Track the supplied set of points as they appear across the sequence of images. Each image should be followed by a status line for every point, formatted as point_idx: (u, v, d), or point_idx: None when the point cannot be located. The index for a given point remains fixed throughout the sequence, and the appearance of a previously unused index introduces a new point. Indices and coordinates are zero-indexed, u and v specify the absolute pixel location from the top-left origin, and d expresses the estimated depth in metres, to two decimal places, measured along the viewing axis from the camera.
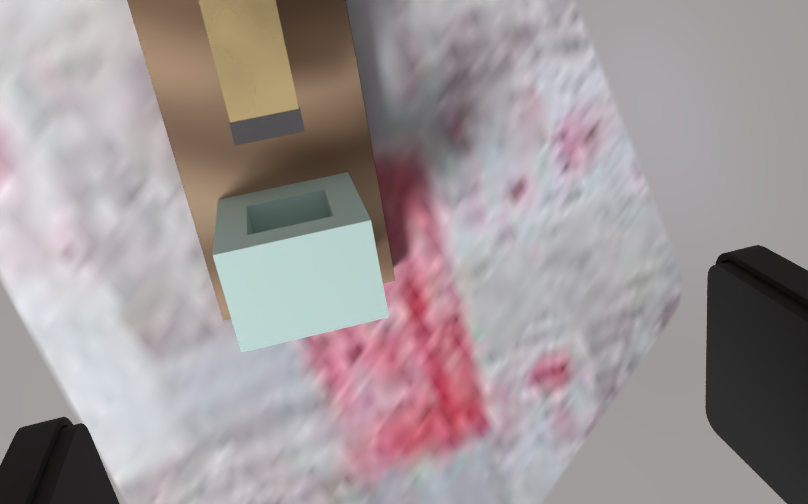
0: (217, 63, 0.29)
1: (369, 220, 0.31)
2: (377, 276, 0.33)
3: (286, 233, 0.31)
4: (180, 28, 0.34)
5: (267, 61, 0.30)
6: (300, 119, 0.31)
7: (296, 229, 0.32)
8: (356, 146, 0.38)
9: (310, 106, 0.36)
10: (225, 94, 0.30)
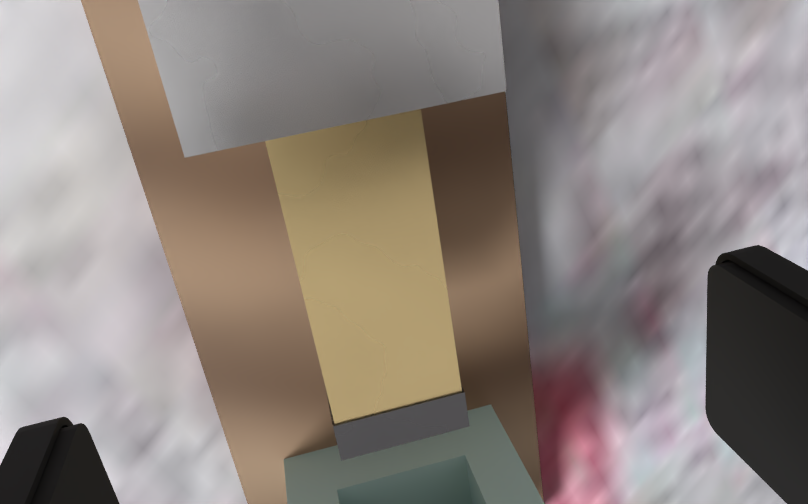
0: (316, 329, 0.15)
1: None
2: None
3: None
4: (229, 208, 0.19)
5: (411, 318, 0.15)
6: (463, 408, 0.17)
7: None
8: (507, 367, 0.23)
9: None
10: (328, 380, 0.15)
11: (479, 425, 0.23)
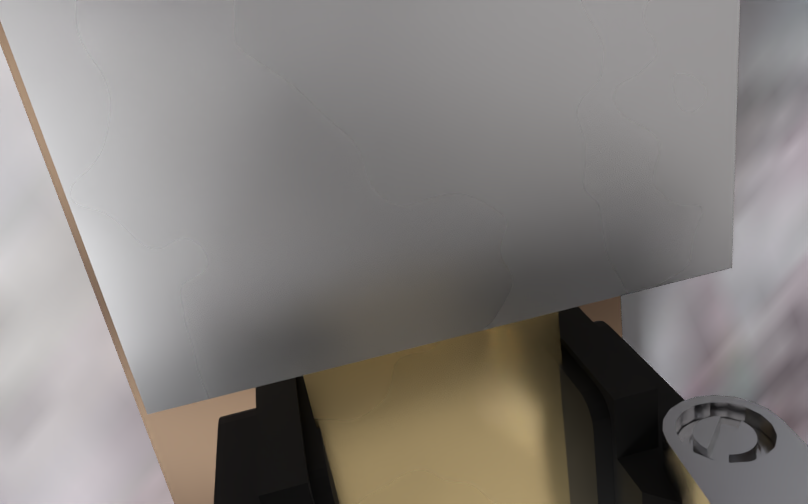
0: None
1: None
2: None
3: None
4: None
5: None
6: None
7: None
8: None
9: None
10: None
11: None
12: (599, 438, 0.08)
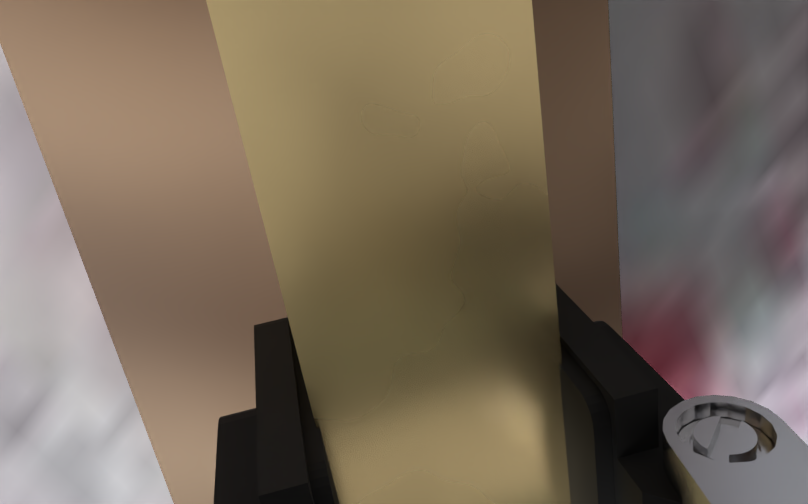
0: None
1: None
2: None
3: None
4: None
5: None
6: None
7: None
8: (585, 300, 0.15)
9: None
10: None
11: None
12: (599, 438, 0.08)
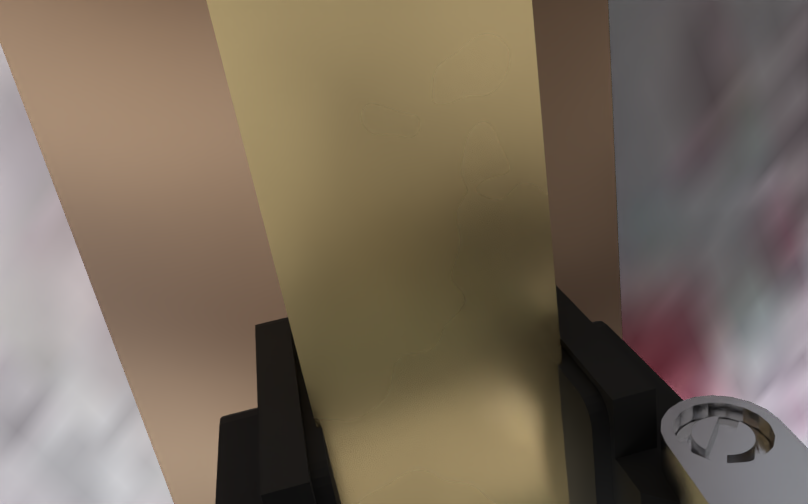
0: None
1: None
2: None
3: None
4: None
5: None
6: None
7: None
8: (585, 300, 0.15)
9: None
10: None
11: None
12: (597, 438, 0.08)
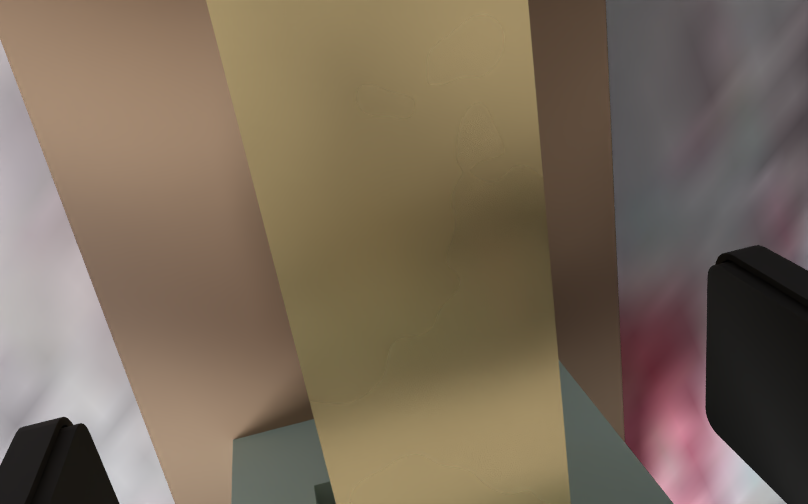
0: None
1: None
2: None
3: None
4: None
5: None
6: None
7: None
8: (582, 296, 0.15)
9: None
10: None
11: None
12: None
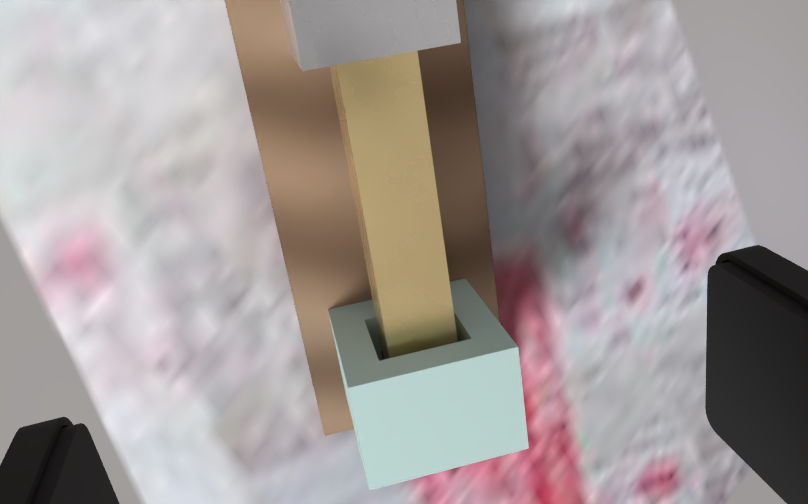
0: (387, 331, 0.29)
1: (516, 346, 0.29)
2: (520, 405, 0.30)
3: (424, 361, 0.29)
4: (301, 133, 0.31)
5: (435, 326, 0.30)
6: None
7: (434, 355, 0.29)
8: (476, 251, 0.35)
9: None
10: None
11: (457, 287, 0.35)
12: None
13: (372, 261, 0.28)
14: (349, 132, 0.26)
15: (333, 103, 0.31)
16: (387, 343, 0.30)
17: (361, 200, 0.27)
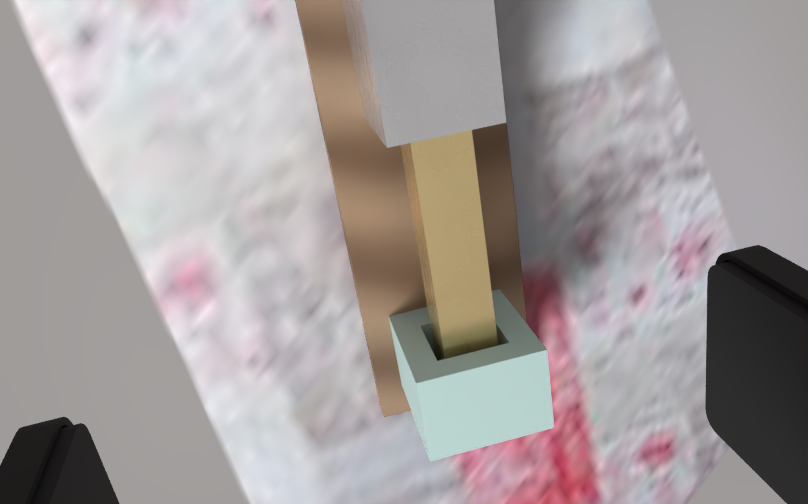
0: (443, 337, 0.37)
1: (545, 349, 0.37)
2: (547, 394, 0.38)
3: (474, 361, 0.37)
4: (370, 178, 0.39)
5: (480, 333, 0.38)
6: None
7: (481, 356, 0.37)
8: (508, 267, 0.43)
9: None
10: (446, 358, 0.38)
11: (493, 297, 0.43)
12: None
13: (433, 284, 0.36)
14: (418, 188, 0.34)
15: (396, 154, 0.39)
16: (443, 347, 0.38)
17: (425, 238, 0.35)
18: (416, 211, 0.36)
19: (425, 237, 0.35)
